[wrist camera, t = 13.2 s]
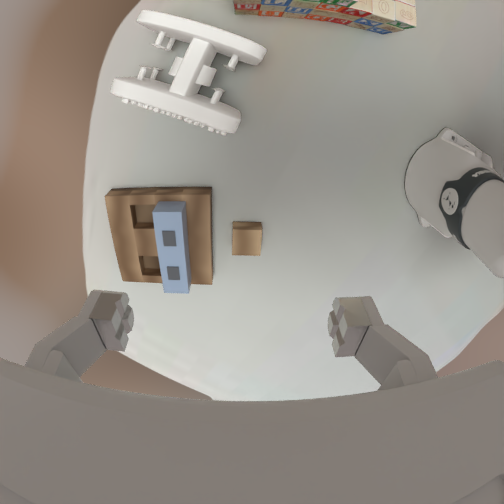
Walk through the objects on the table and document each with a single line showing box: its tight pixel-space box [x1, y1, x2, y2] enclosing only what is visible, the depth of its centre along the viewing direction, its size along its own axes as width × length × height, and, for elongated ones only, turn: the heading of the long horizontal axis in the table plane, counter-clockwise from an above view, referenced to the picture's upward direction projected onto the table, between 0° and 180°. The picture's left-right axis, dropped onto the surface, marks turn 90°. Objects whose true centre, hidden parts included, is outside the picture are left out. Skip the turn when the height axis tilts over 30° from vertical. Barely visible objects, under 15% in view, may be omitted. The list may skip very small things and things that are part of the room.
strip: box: [152, 201, 191, 293], centre depth 42 cm, size 4×14×5 cm, turn 177°
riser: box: [232, 222, 262, 256], centre depth 45 cm, size 4×5×2 cm
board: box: [105, 187, 213, 285], centre depth 44 cm, size 16×16×3 cm
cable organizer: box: [110, 10, 267, 136], centre depth 27 cm, size 15×11×12 cm
